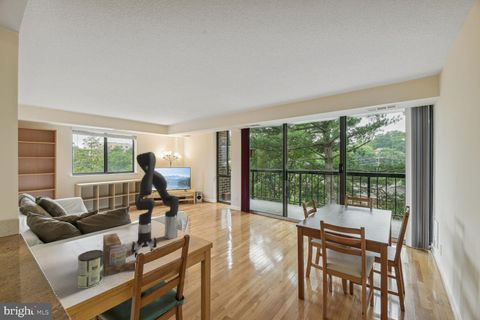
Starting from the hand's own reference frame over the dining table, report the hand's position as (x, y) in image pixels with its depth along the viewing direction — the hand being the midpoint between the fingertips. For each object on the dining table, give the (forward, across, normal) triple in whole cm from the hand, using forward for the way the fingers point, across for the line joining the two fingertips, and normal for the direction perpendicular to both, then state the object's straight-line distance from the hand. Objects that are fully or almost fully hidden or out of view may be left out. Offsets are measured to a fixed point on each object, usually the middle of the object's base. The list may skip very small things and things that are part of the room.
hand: (144, 256), depth 131 cm
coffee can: (+1, +28, +12) cm, 30 cm away
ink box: (+2, +15, 0) cm, 15 cm away
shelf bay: (+1, +12, +1) cm, 12 cm away
